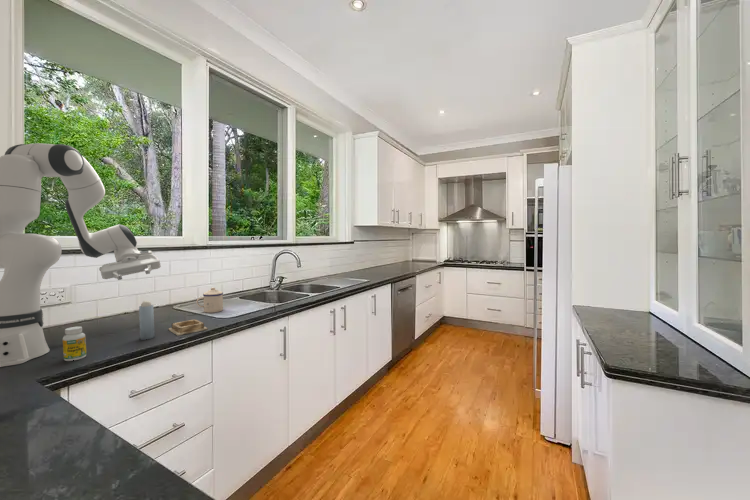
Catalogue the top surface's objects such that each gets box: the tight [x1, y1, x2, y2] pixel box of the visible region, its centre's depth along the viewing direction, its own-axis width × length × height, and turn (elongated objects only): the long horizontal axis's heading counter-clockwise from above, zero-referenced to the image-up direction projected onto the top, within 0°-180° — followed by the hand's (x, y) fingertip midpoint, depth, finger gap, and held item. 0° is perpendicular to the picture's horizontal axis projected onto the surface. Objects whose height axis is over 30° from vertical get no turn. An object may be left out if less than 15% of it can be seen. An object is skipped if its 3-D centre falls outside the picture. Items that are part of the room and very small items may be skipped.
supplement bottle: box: [62, 326, 87, 362], centre depth 106 cm, size 5×5×10 cm
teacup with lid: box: [196, 286, 224, 314], centre depth 168 cm, size 12×9×12 cm
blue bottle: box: [138, 300, 155, 341], centre depth 126 cm, size 4×4×14 cm
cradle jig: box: [168, 318, 208, 336], centre depth 136 cm, size 11×11×3 cm
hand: (134, 275), depth 136 cm, fingers open, 8 cm apart
